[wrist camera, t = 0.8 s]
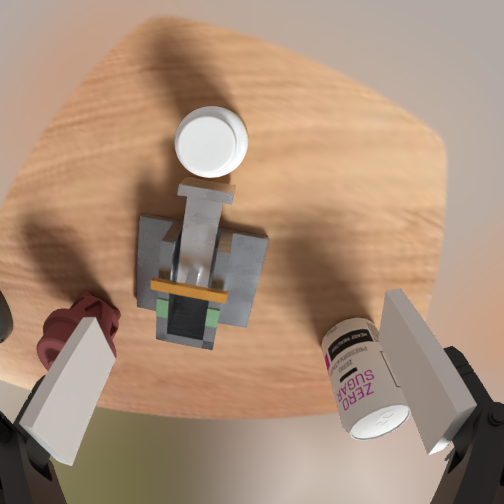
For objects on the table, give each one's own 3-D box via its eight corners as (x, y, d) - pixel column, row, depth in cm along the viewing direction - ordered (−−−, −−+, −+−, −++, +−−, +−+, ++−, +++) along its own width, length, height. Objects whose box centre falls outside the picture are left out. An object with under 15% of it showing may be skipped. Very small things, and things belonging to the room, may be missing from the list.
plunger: (165, 269, 33) (150, 302, 27) (176, 174, 29) (158, 189, 23) (227, 281, 34) (223, 316, 28) (246, 187, 29) (246, 205, 24)
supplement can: (361, 359, 41) (391, 439, 28) (312, 355, 40) (332, 444, 27) (384, 317, 38) (428, 399, 24) (332, 311, 37) (366, 403, 23)
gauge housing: (139, 302, 36) (124, 332, 31) (142, 213, 31) (122, 234, 26) (246, 322, 38) (246, 356, 32) (268, 236, 33) (272, 262, 27)
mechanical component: (100, 344, 40) (58, 294, 36) (146, 325, 38) (101, 267, 34) (69, 405, 28) (14, 349, 25) (119, 395, 27) (54, 327, 23)
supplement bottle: (206, 101, 26) (185, 91, 17) (257, 123, 27) (262, 124, 18) (183, 150, 29) (154, 166, 19) (233, 172, 30) (226, 197, 20)
